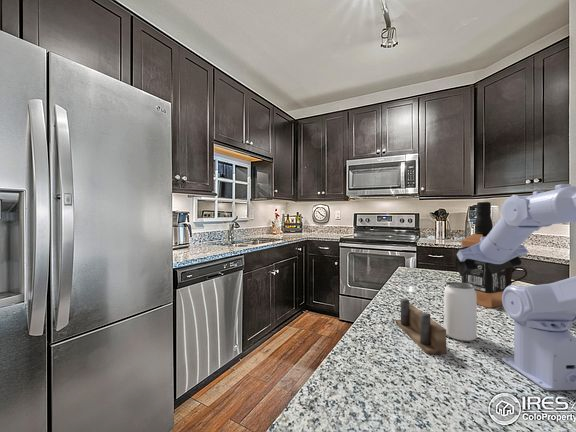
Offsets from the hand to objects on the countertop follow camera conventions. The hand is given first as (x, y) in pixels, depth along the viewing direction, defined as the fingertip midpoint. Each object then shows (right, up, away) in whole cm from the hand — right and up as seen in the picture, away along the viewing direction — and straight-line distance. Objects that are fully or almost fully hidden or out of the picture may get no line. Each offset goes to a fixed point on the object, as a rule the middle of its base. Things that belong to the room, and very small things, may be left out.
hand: (475, 271), depth 70 cm
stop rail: (-16, -14, -5) cm, 22 cm away
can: (-7, -14, -4) cm, 17 cm away
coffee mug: (+33, -13, +33) cm, 49 cm away
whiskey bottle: (+16, -14, +20) cm, 29 cm away
